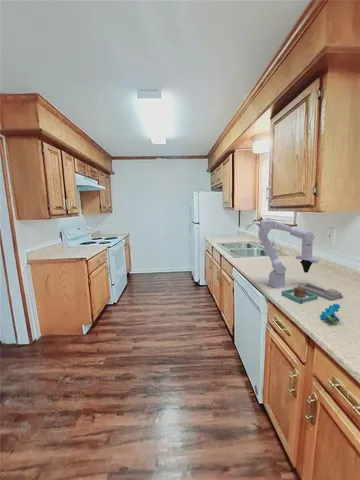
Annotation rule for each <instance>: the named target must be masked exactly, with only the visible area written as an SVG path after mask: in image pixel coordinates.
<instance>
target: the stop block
mask: <svg viewBox="0 0 360 480" xmlns="http://www.w3.org/2000/svg"><path fill="white" fill-rule="evenodd" d="M293 289H294V292H293V295H294V296H296V297H298V298H301V299H302V298H306V295H305V288H302V287H300V286H299V287H298V286H296V287H293Z"/></svg>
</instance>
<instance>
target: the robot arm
mask: <svg viewBox="0 0 360 480" xmlns="http://www.w3.org/2000/svg"><path fill="white" fill-rule="evenodd" d="M272 229H280V230H283V231H285V232H287V233H289V235H290V236H292V237H295V238H298V239H301V240H302V241H301V255H295V259H296V260H300V261H299V263H300V264H301V267H302V269H303V272H304V273H305V274H307V273H309V271H310V269H311V266H312V265H313V264H319V259H317V258H316V259H315V258H314V257H313V245H314V244H313V242H314V239H315V238H316V237H315V234H314V233H313V232H311V231H308V230H307V229H305V228H304V229H303V228H301V227H300V226H298V225H296V226H295V225H294V226H290V225H286V224H284V223H281V222H279V221H277V220H271V219H269V218H263V219H262V220H261V221H260V222H259V224H258V233H257V237H258V239H259V240H260V242H261V244H262V246H263V248H264V249H265V252H266V254H267V255H268V257H269V259H270V262H271V264H272V265H271V266H272V269H273V270H272V271H270V272H269V274H268V283H267V285H269V286H271V287H272V288H275V289H281V288H287V287H289V286H288V285H285V283H286V282H285V281H286V271H287V267H286V266H285V264H283V263H282V261H281V260H280V259H279V256H278V254H277V253H276V251H275V249H274V247H273V245H272V243H271V241H270V239H269V237H268V234H269V232H270V231H271V230H272Z"/></svg>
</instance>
